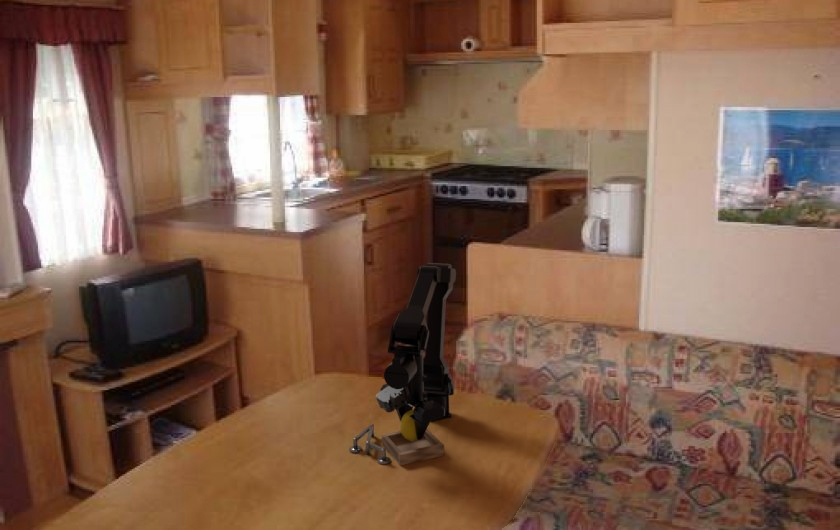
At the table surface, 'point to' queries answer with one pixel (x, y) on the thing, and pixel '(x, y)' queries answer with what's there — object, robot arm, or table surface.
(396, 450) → the tray
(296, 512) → the table surface
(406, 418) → the lemon
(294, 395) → the table surface
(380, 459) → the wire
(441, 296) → the robot arm
